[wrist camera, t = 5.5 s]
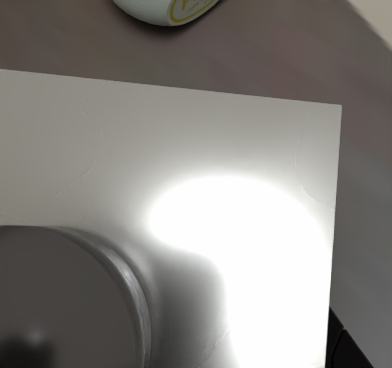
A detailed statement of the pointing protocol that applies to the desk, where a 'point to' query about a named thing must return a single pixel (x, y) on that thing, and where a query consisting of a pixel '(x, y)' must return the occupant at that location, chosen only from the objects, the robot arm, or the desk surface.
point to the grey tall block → (163, 226)
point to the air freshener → (165, 10)
